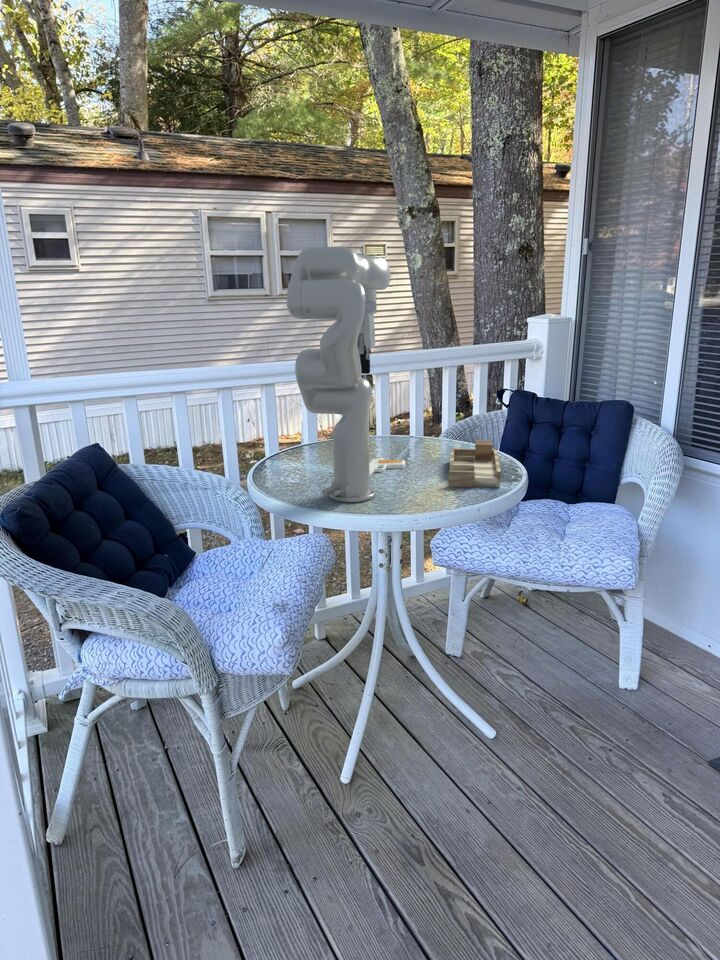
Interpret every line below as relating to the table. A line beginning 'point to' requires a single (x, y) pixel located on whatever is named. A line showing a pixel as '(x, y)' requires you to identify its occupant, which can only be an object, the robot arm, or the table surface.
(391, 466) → the pistol
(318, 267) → the robot arm
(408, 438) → the table surface
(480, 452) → the block
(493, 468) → the tray
